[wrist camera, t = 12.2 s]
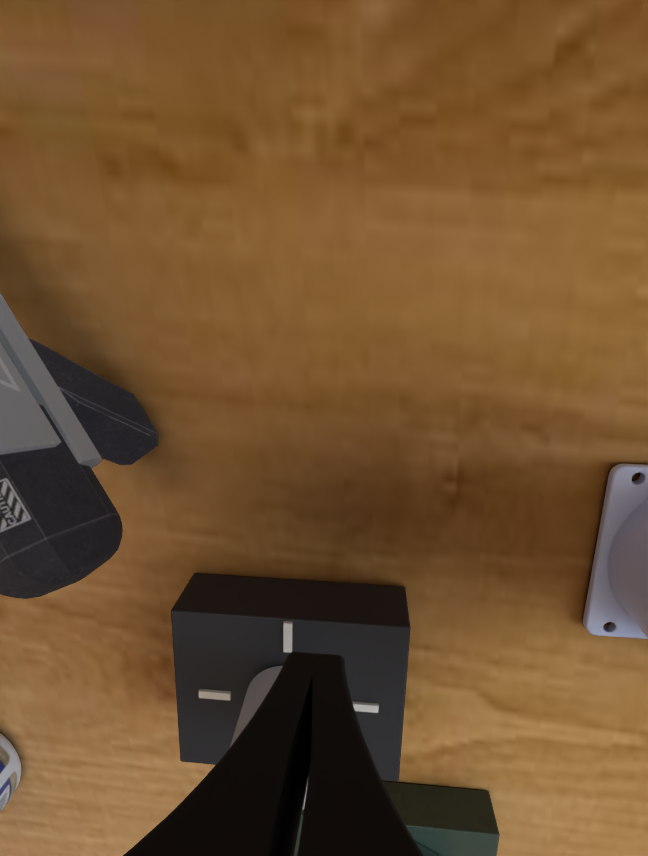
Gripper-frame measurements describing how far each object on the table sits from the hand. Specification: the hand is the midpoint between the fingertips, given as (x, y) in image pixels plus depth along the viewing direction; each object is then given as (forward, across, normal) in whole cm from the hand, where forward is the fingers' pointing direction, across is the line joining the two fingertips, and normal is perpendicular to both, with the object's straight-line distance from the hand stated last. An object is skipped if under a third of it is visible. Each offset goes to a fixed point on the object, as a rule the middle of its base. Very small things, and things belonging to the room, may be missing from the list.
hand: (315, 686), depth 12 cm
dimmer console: (+10, +2, +8) cm, 13 cm away
